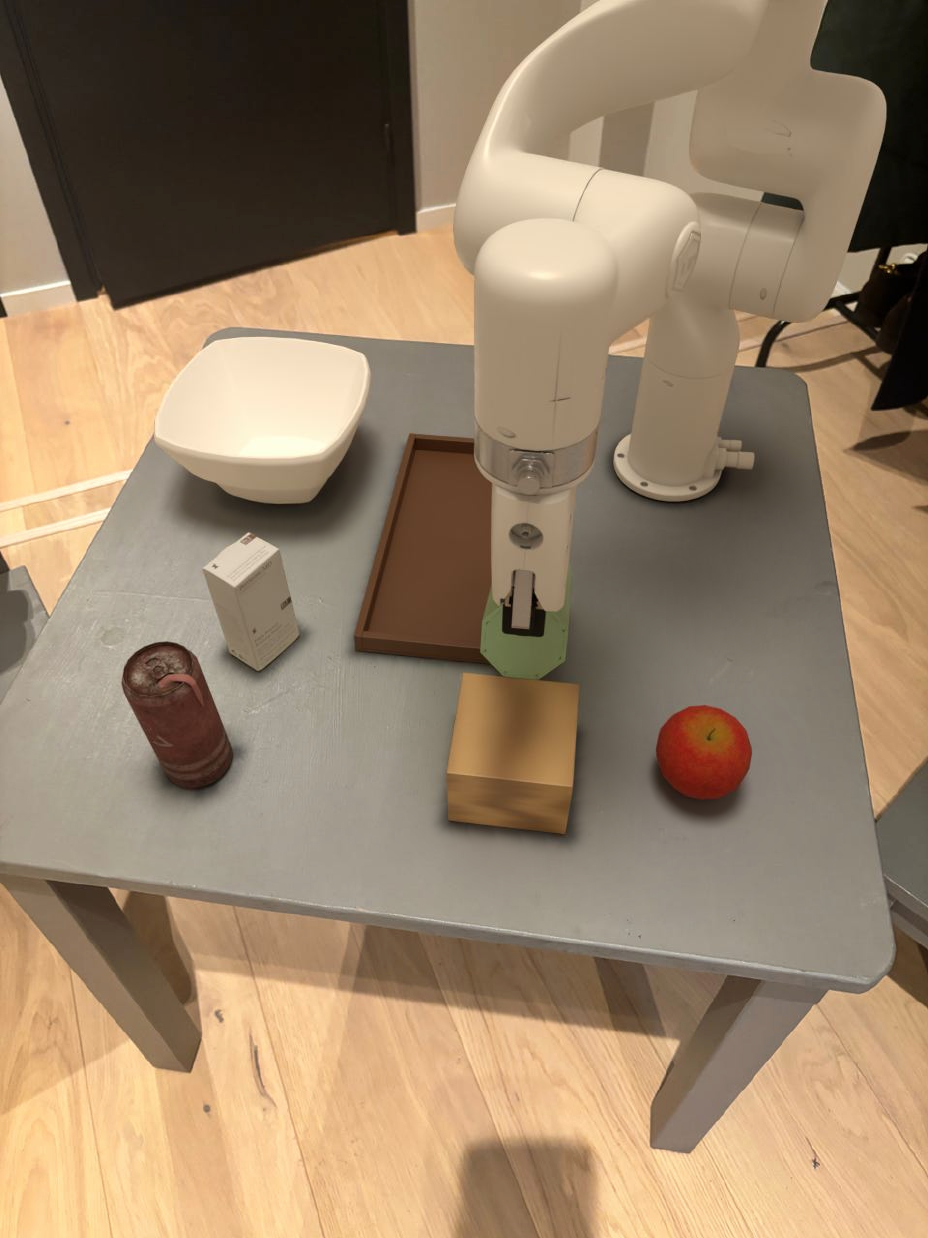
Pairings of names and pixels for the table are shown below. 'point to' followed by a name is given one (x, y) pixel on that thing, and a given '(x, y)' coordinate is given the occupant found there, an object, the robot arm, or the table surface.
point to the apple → (703, 752)
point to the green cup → (526, 641)
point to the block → (513, 753)
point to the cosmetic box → (252, 600)
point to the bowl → (265, 415)
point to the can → (177, 713)
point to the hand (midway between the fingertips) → (523, 627)
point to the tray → (431, 557)
